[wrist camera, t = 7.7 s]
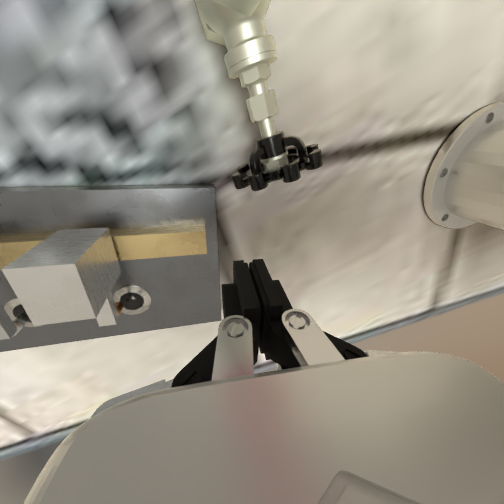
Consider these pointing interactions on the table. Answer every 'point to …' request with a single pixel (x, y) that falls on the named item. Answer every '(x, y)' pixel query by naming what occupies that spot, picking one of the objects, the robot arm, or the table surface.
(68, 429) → the table surface
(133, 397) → the robot arm
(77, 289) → the block
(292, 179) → the valve
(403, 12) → the table surface
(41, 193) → the bolt plate
